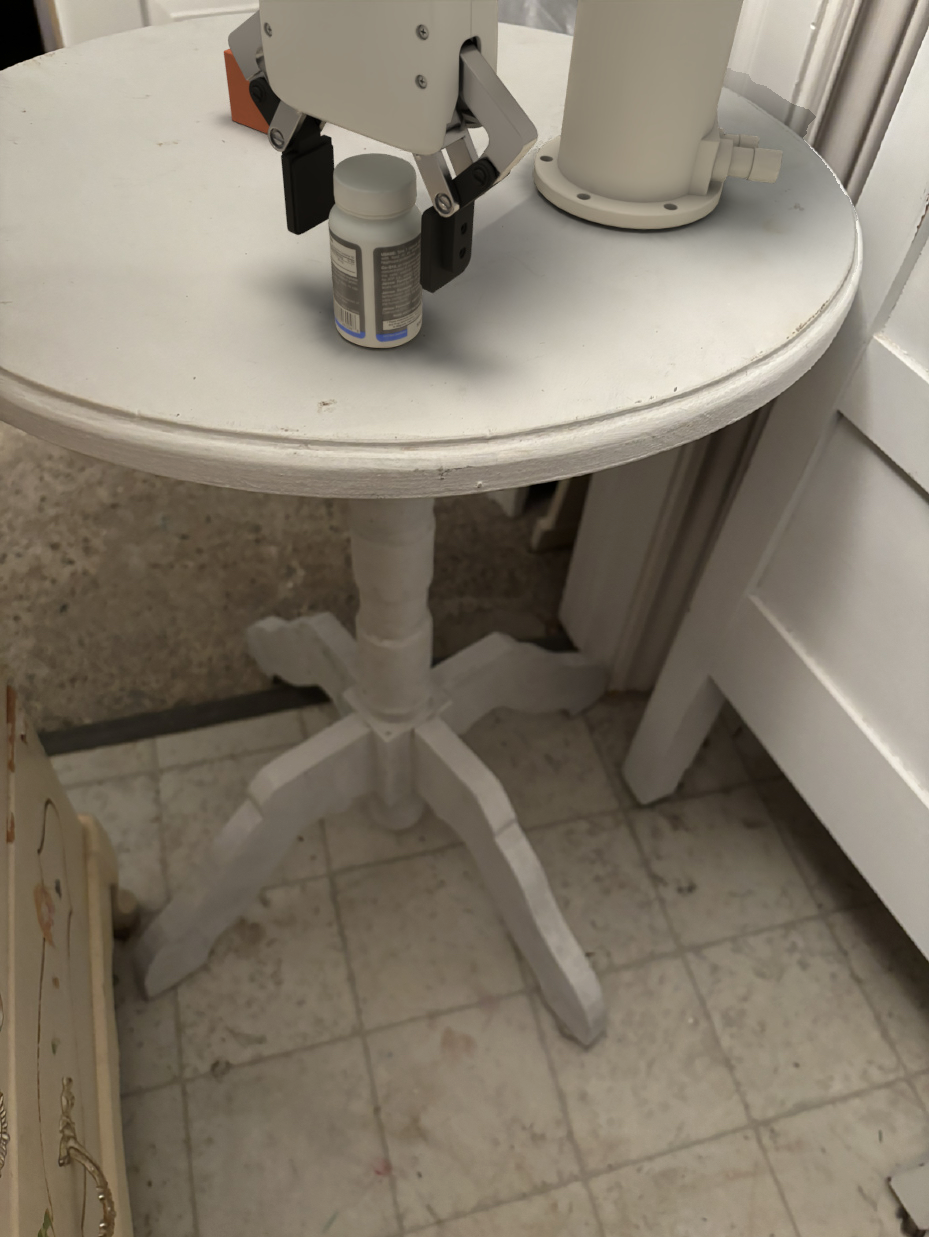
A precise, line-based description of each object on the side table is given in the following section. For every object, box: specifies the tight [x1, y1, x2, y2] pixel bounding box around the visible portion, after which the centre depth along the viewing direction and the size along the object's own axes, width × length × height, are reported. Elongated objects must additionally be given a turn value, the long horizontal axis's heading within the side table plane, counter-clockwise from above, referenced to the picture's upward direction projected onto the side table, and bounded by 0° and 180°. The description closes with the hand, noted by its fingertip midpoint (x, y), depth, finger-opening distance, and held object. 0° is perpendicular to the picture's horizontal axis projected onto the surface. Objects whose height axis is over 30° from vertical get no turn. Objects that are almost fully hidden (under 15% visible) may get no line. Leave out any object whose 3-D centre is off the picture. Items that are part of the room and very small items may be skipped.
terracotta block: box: [223, 48, 269, 135], centre depth 66 cm, size 4×4×4 cm
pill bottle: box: [327, 152, 424, 349], centre depth 49 cm, size 5×5×8 cm
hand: (376, 249), depth 49 cm, fingers open, 7 cm apart
